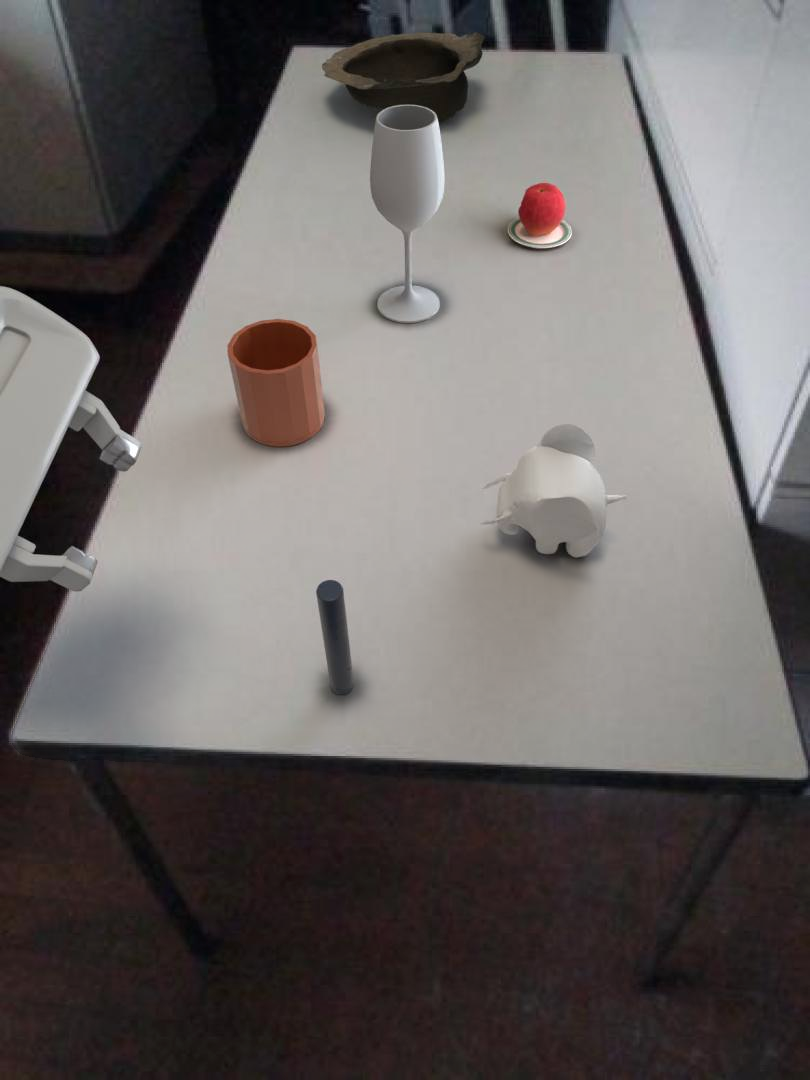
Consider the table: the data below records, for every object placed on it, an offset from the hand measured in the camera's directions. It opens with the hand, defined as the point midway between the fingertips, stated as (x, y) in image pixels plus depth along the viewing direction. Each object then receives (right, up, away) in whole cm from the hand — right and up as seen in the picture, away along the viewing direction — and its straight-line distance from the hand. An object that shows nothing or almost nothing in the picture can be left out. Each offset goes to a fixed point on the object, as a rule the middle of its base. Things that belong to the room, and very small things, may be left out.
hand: (113, 514), depth 51 cm
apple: (+34, +37, +57) cm, 76 cm away
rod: (+13, -13, +15) cm, 23 cm away
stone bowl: (+17, +67, +83) cm, 108 cm away
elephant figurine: (+30, -1, +25) cm, 39 cm away
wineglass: (+18, +26, +48) cm, 57 cm away
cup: (+5, +11, +35) cm, 37 cm away
